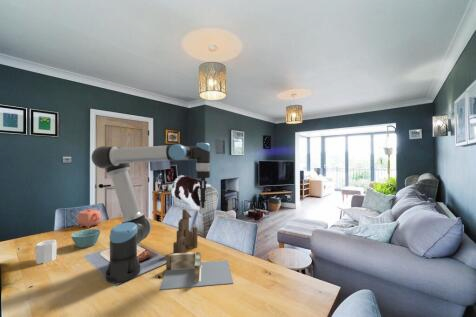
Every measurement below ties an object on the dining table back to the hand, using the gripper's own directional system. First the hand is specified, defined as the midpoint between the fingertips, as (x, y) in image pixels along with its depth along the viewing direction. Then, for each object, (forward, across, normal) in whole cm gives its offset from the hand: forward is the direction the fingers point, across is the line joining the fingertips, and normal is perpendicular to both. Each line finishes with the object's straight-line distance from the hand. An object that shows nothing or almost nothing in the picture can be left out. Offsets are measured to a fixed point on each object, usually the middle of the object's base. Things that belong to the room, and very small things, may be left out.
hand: (202, 213), depth 117 cm
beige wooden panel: (+26, -7, +9) cm, 29 cm away
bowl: (+27, +33, +75) cm, 86 cm away
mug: (+27, +14, +87) cm, 92 cm away
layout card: (+26, -13, +2) cm, 29 cm away
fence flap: (+26, -14, +2) cm, 30 cm away
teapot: (+27, +77, +95) cm, 125 cm away
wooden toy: (+27, +16, +10) cm, 33 cm away
